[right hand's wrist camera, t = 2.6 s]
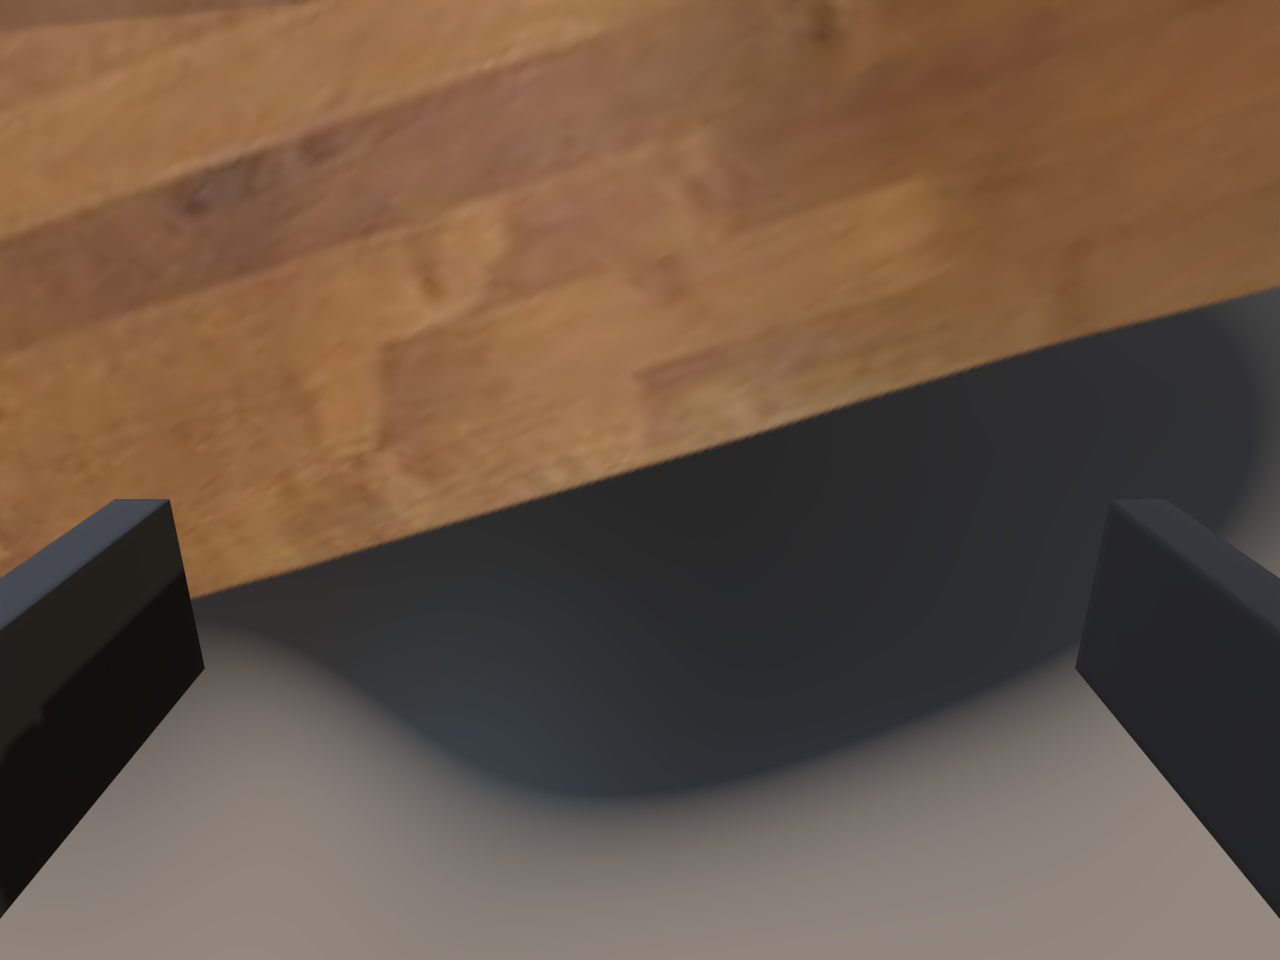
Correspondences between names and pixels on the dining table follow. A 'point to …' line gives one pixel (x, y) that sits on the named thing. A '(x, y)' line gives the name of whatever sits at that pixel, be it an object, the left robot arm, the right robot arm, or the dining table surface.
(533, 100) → the dining table surface
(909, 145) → the dining table surface
